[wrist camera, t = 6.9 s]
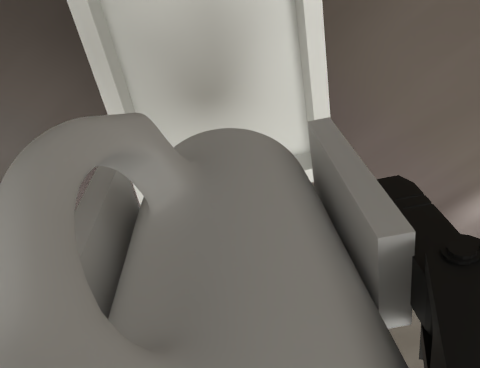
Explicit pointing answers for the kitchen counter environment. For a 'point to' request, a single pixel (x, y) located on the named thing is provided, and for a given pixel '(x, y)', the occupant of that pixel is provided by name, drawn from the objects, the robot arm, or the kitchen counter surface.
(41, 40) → the kitchen counter surface
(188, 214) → the mug
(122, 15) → the tray
